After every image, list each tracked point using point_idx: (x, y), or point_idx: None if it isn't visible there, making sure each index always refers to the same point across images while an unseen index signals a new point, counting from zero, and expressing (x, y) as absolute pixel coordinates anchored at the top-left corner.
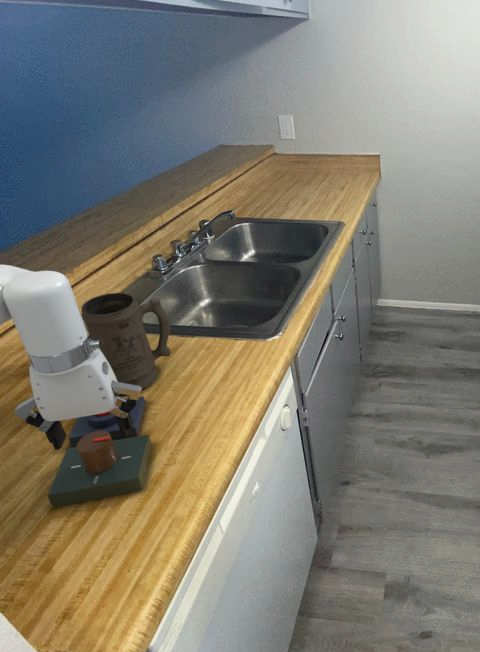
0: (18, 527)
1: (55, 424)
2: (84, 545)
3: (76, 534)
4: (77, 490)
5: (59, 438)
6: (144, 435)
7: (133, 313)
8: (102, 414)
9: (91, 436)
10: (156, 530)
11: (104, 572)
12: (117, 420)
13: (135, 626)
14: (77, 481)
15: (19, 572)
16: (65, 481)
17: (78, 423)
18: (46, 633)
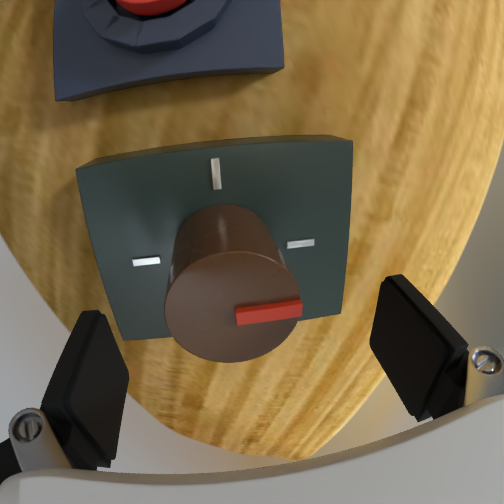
0: None
1: (86, 435)
2: (238, 383)
3: (214, 366)
4: None
5: (115, 391)
6: (340, 143)
7: None
8: (151, 12)
9: (211, 288)
10: (352, 363)
11: (283, 410)
12: (413, 413)
13: (328, 440)
14: None
15: (154, 405)
16: (144, 308)
17: (64, 30)
18: (236, 449)
